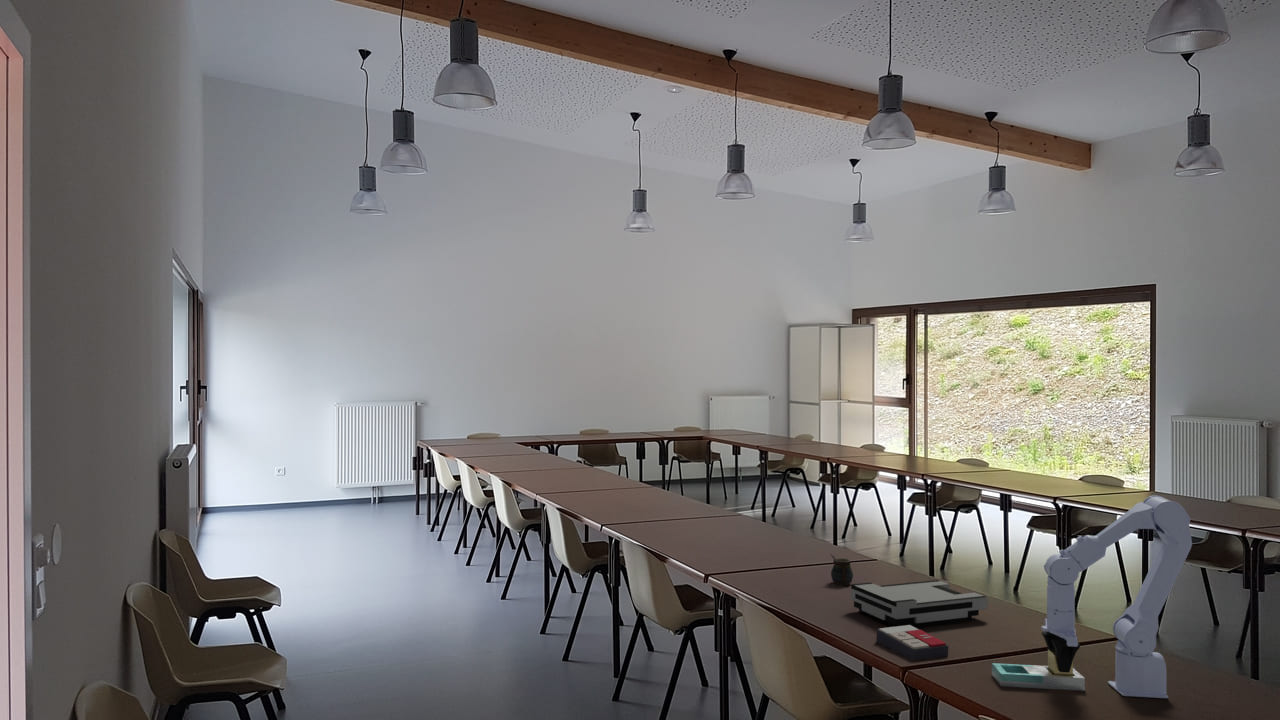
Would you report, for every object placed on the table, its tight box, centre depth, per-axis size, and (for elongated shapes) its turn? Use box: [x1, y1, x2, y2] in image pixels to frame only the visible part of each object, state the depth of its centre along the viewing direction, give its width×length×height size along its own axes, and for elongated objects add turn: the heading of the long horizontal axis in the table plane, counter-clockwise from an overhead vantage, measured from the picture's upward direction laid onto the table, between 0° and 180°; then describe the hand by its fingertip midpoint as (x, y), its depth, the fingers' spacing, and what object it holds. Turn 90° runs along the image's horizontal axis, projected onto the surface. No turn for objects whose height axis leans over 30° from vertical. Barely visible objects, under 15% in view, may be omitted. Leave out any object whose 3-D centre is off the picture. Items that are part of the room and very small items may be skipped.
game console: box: [850, 579, 989, 629], centre depth 245 cm, size 21×32×8 cm, turn 111°
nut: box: [1047, 648, 1074, 676], centre depth 192 cm, size 4×4×6 cm
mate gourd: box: [829, 553, 854, 586], centre depth 281 cm, size 7×8×10 cm
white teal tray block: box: [991, 662, 1086, 692], centre depth 193 cm, size 18×7×3 cm, turn 83°
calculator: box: [876, 625, 949, 661], centre depth 215 cm, size 11×4×15 cm
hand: (1060, 668), depth 192 cm, fingers closed on nut, 4 cm apart
